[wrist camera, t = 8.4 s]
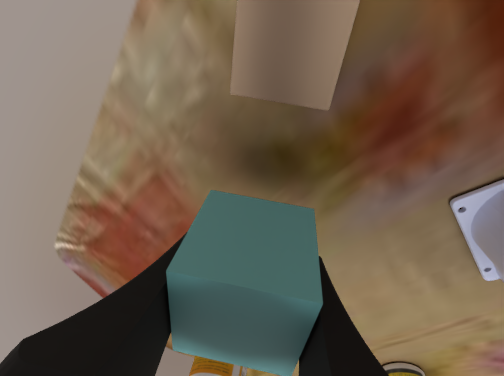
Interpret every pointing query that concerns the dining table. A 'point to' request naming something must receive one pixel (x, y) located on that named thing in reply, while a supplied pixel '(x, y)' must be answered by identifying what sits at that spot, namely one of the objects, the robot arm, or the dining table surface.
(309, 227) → the teal block
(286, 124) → the dining table surface
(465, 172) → the dining table surface
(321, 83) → the tan cube
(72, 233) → the dining table surface
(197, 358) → the supplement bottle
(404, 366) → the supplement bottle
